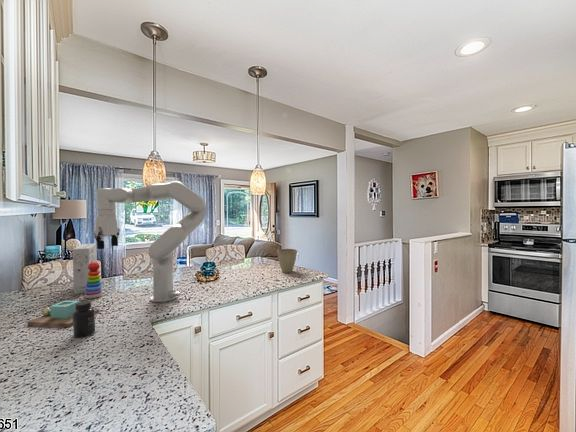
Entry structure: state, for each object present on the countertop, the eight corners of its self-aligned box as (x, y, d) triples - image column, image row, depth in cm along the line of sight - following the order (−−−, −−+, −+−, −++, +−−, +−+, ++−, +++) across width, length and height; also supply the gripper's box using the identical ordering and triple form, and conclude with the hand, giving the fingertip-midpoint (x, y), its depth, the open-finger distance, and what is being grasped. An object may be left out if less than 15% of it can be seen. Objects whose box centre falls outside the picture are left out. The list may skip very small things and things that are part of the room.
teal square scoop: (79, 312, 124) (79, 301, 124) (66, 318, 117) (66, 306, 117) (52, 311, 125) (52, 300, 125) (37, 317, 118) (37, 305, 118)
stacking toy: (93, 299, 145) (92, 264, 144) (80, 298, 146) (79, 263, 146) (106, 294, 152) (105, 261, 152) (94, 294, 154) (93, 260, 153)
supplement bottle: (92, 328, 111) (91, 298, 111) (97, 333, 107) (97, 302, 106) (70, 334, 106) (70, 303, 105) (76, 339, 102) (75, 307, 101)
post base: (98, 312, 128) (98, 299, 128) (69, 327, 112) (68, 312, 112) (62, 310, 129) (62, 298, 129) (27, 325, 113) (27, 311, 113)
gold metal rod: (50, 315, 120) (49, 307, 120) (47, 316, 119) (46, 308, 119) (47, 315, 120) (46, 307, 120) (44, 316, 119) (43, 308, 119)
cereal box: (90, 292, 158) (88, 248, 157) (73, 293, 154) (72, 249, 153) (97, 282, 177) (96, 243, 176) (82, 283, 174) (81, 244, 173)
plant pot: (298, 273, 201) (298, 251, 200) (278, 274, 199) (278, 251, 198) (295, 268, 216) (295, 248, 215) (276, 269, 214) (276, 248, 213)
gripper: (111, 212, 147) (112, 244, 148) (85, 213, 130) (87, 250, 131) (125, 212, 147) (126, 244, 147) (101, 213, 129) (102, 250, 130)
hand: (107, 247), depth 139 cm, fingers open, 9 cm apart
